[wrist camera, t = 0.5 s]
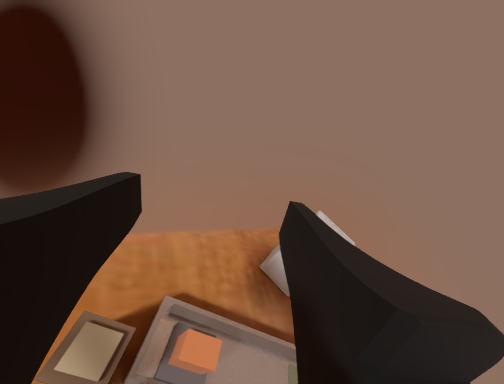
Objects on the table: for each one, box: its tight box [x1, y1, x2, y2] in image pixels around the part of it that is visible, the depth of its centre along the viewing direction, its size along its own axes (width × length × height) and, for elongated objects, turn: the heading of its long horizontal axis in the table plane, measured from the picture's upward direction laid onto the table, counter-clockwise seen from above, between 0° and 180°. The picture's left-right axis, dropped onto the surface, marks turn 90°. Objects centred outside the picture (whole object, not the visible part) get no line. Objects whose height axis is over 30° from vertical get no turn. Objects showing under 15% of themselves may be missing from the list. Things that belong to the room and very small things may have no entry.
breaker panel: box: [122, 295, 298, 384], centre depth 20 cm, size 8×18×3 cm, turn 78°
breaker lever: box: [155, 322, 222, 384], centre depth 18 cm, size 4×4×4 cm
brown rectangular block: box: [35, 310, 136, 384], centre depth 15 cm, size 4×4×7 cm
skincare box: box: [260, 211, 355, 297], centre depth 28 cm, size 6×4×12 cm
